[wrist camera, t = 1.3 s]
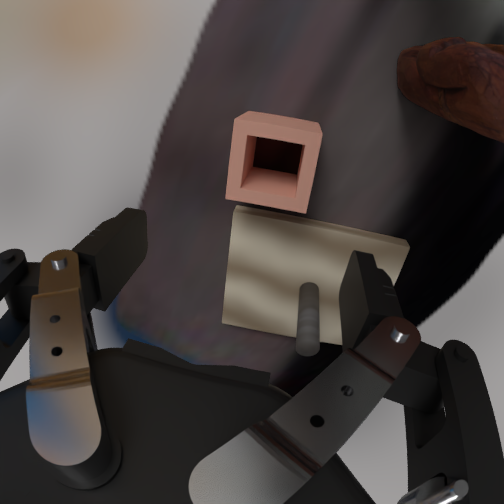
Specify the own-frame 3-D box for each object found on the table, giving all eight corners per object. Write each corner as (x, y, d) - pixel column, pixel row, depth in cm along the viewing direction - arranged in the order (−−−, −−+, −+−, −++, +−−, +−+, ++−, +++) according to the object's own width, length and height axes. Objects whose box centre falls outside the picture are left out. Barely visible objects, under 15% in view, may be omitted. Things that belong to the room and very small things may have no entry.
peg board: (236, 205, 30) (210, 257, 22) (406, 239, 29) (435, 300, 21) (224, 314, 37) (203, 376, 29) (362, 339, 36) (369, 403, 28)
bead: (248, 110, 25) (234, 118, 20) (318, 122, 25) (322, 134, 20) (240, 175, 29) (225, 198, 23) (305, 187, 28) (305, 213, 23)
